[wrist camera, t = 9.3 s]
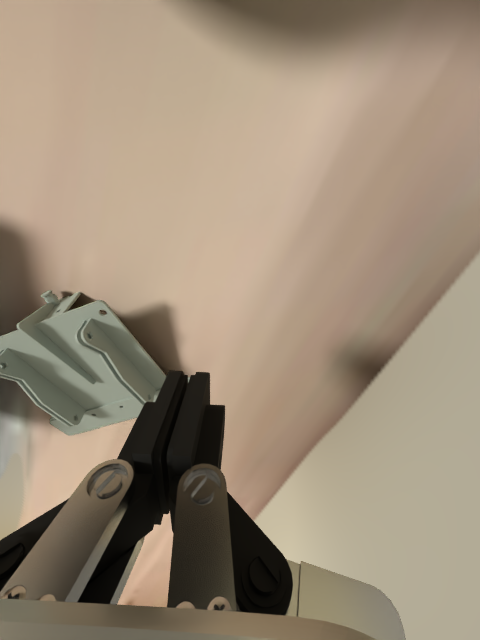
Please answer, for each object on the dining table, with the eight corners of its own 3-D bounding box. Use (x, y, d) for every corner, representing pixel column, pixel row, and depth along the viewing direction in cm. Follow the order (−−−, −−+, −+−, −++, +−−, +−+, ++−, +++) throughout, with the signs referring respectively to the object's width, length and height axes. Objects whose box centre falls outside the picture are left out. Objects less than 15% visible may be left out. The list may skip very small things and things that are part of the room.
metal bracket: (-83, 366, 18) (110, 295, 15) (-21, 314, 22) (136, 252, 20) (71, 458, 26) (211, 422, 24) (93, 406, 31) (213, 372, 28)
